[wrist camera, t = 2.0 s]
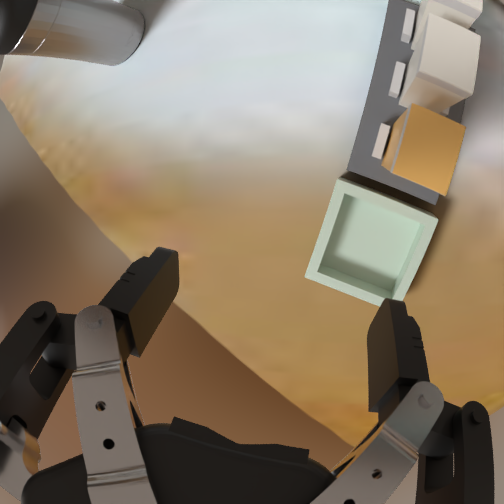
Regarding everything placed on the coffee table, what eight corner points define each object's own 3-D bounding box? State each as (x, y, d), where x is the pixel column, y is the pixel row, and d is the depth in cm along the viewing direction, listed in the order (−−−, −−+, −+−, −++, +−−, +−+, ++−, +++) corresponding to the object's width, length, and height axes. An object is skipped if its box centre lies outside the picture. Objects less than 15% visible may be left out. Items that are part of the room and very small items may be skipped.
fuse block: (347, 168, 28) (345, 170, 24) (388, 4, 20) (390, -13, 17) (431, 201, 26) (440, 209, 22) (470, 36, 18) (481, 22, 14)
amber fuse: (380, 165, 25) (392, 173, 14) (392, 124, 23) (412, 102, 13) (413, 178, 24) (445, 196, 13) (425, 137, 22) (466, 126, 12)
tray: (310, 266, 32) (304, 277, 30) (340, 176, 28) (337, 179, 26) (394, 299, 30) (396, 312, 27) (432, 213, 26) (438, 219, 23)
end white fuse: (410, 49, 20) (432, -11, 9) (416, 16, 18) (434, -52, 8) (442, 61, 19) (482, 11, 9) (447, 28, 18) (482, -31, 7)
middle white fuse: (398, 104, 22) (419, 70, 12) (407, 66, 21) (429, 12, 10) (430, 117, 22) (473, 94, 11) (439, 79, 20) (481, 35, 9)
